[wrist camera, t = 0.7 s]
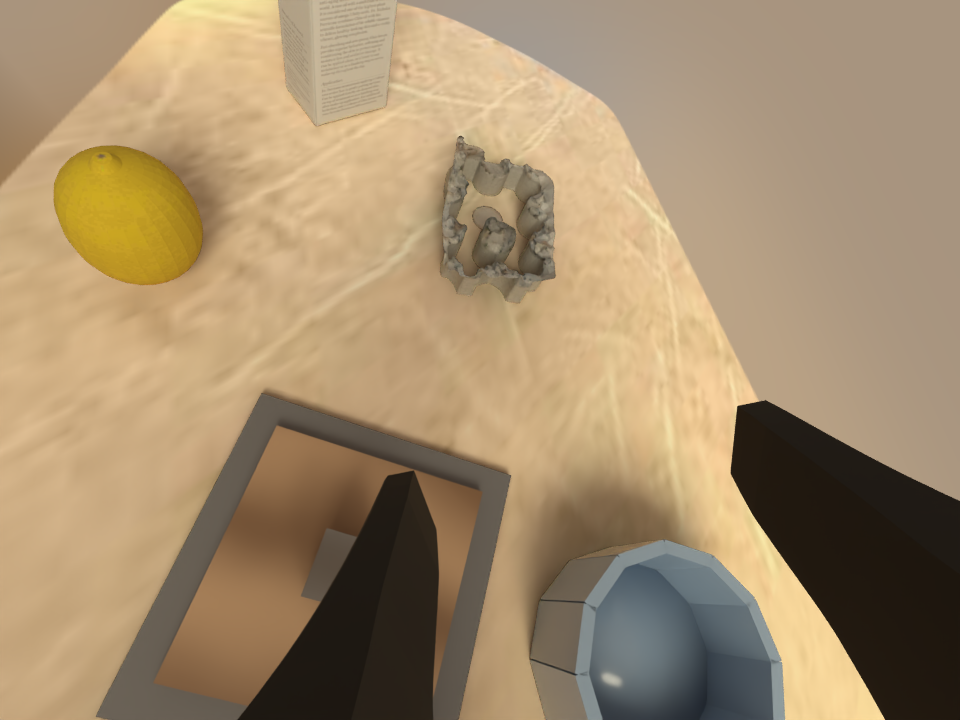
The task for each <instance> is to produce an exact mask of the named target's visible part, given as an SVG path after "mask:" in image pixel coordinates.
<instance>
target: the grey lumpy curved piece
mask: <svg viewBox="0 0 960 720" xmlns="http://www.w3.org/2000/svg"><path fill="white" fill-rule="evenodd" d="M463 139H464V137H462V136H459V137H458V139H457V143H456V146H457V147H456V152H455V159H454V163H453V167H452V168H450V169H449V171H448V173H447V176H446V179H445V185H444V199H446V201H445V206H444V210H443V217H442V226H443V248H444V257H443V260H442V262H441V267H440V273H441V276H442V277H444V278H447V279H448V280H449V281H451V282H452V284H453V285H454V287H455V289H456V292H457V294H460V295H467V296H471V295H472V294H473V291H474V289H475V288H476V287H477V286H478V285H481V284H491V285H493V286H495V287H497V288H498V289H499V290H500V291H501V292H502V294H503V296H504V298H505V301H507V302H514V303H520V302H521V300H522V299H523V297H524V296H525V294H526V293H527V292H531V291H535V290H536V289H537V288H538V286H539V285H540V283H541V281H543V280H548V279H553V278H555V265H554V261H553V251H554V247H553V242H554V237H555V230H554V213H553V204H554V185H553V181H552V180H551V178H550V177H549V176H547V175H546V174H545V173H544V172H543V171H540V170H535V169H532V168H531V167H530V166H528V165H527V164H526V165H524V166H518V165H514V164H512V163H511V162H510V160H509V159H504V160H502V161H501V163H500V164H494V163H490V162H485V161H484V160H485V158H484V151H483V150H482V149H480V148H479V147H476V146H472V145H467V144H465V143H464V141H463ZM467 180H469V181H472V183H473V185H474V187H475V189H476V190H477V191H478V192H479V193H481V194H483V195H486V196H496V195H498V194H499V193H500V192H501V190H502V188H506V189H510V190H513V191H514V192H515V194H516V196H517V197H518V198H519V199H520V200H521V201H522V202H524V203H526V205H525V206H524V208H523V210H522V212H521V214H520V216H519V218H518V220H517V223H516V225H517V228H518V231H519V232H520V233H521V235H523V236H524V237H525V238H527V239H529V242H528V243H527V245H526V247H525V249H524V250H523V252H522V254H521V256H520V257H519V260H518V265H519V268H520V270H521V271H522V272H523V273H524V275H523V276H522V275H521V274H518V271H515V270H509V269H508V268H507V266H506V265H505V264H504V262H505V260H506V258H507V257H508V255H509V253H510V251H511V250H512V248H513V246H514V243H515V239H516V231H515V229H514V228H512V227H511V226H509V225H507V224H505V223H503V222H502V221H503V220H502V217H501V215H500V213H498V212H497V211H496V210H495V209H493V208H491V207H486V206H483V207H479V208H477V209H476V210H475V211H474V212H473V215H472V217H473V220H474V223H475V224H476V225H477V226H478V227H479V228H480V229H482V231H481V233H480V235H479V238H478V240H477V242H476V245H475V247H474V249H473V252H472V257H473V260H474V262H475V264H476V265H477V266H478V267H480V269H478V271H477V273H476V275H474V276H472V277H471V276H466V275H465V274H464V272H463V265H462V264H461V263H460V262H458V261H457V259H456V258H455V257H456V255H457V253H458V250H459V248H460V246H461V243H462V241H463V238H464V235H465V232H466V230H467V226H466V225H465V224H464V225H461V224H459V223H458V221H457V220H456V218H457V216H458V213H459V210H460V208H461V206H462V203H463V200H464V196H465V195H466V194H467V192H466V188H467V186H468V185H469V183H468V181H467Z"/></svg>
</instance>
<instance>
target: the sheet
mask: <svg viewBox="0 0 960 720" xmlns="http://www.w3.org/2000/svg"><path fill="white" fill-rule="evenodd" d="M413 470H414V469H410V468H407V467H404V466H401V465H398V464H395V463H392V462H389V461H386V460H383V459H379V458H376V457H373V456H370V455H367V454H364V453H361V452H358V451H355V450H352V449H348V448H345V447H342V446H339V445H336V444H333V443H330V442H327V441H324V440H321V439H317V438H314V437H311V436H308V435H305V434H302V433H299V432H296V431H293V430H290V429H286V428H283V427H280V426H276V428H275V430H274V432H273V434H272V436H271V438H270V440H269V442H268V444H267V447H266V449H265V451H264V453H263V455H262V457H261V459H260V461H259V463H258V465H257V467H256V470H255V472H254V474H253V476H252V478H251V480H250V482H249V484H248V486H247V488H246V490H245V492H244V495H243V497H242V499H241V501H240V503H239V505H238V507H237V509H236V511H235V513H234V515H233V517H232V520H231V522H230V524H229V526H228V528H227V530H226V532H225V534H224V536H223V538H222V540H221V542H220V545H219V547H218V549H217V551H216V553H215V555H214V557H213V559H212V561H211V563H210V565H209V567H208V570H207V572H206V574H205V576H204V578H203V580H202V582H201V584H200V586H199V588H198V590H197V592H196V595H195V597H194V599H193V601H192V603H191V605H190V607H189V609H188V611H187V613H186V615H185V617H184V620H183V622H182V624H181V626H180V628H179V630H178V632H177V634H176V636H175V638H174V640H173V642H172V645H171V647H170V649H169V651H168V653H167V655H166V657H165V659H164V661H163V663H162V665H161V667H160V670H159V672H158V674H157V676H156V678H155V680H154V682H153V683H155V684H159V685H163V686H167V687H171V688H175V689H179V690H184V691H188V692H192V693H196V694H200V695H204V696H209V697H213V698H217V699H221V700H225V701H229V702H233V703H238V704H242V705H246V706H248V705H249V704H250V703H251V701H252V700H253V699H254V698H255V696H256V695H257V694H258V692H259V691H260V689H261V688H262V687H263V685H264V684H265V683H266V681H267V680H268V679H269V677H270V676H271V675H272V673H273V672H274V671H275V669H276V668H277V666H278V665H279V664H280V662H281V661H282V660H283V658H284V657H285V655H286V654H287V653H288V651H289V650H290V648H291V647H292V645H293V644H294V642H295V641H296V639H297V638H298V636H299V635H300V633H301V632H302V630H303V629H304V627H305V626H306V624H307V623H308V621H309V620H310V618H311V617H312V615H313V613H314V612H315V610H316V609H317V607H318V605H319V604H320V602H321V600H322V599H323V597H324V595H325V594H326V592H327V590H328V588H329V587H330V585H331V583H332V582H333V580H334V578H335V577H336V575H337V573H338V571H339V570H340V568H341V566H342V564H343V562H344V561H345V559H346V557H347V555H348V553H349V551H350V549H351V547H352V545H353V544H354V542H355V540H356V538H357V536H358V534H359V532H360V530H361V528H362V526H363V524H364V522H365V520H366V518H367V516H368V514H369V512H370V510H371V508H372V506H373V504H374V501H375V499H376V497H377V495H378V493H379V491H380V489H381V486H382V484H383V482H384V480H385V479H386V477H387V476H388V475H393V474H398V473H403V472H408V471H413ZM414 472H415V474H416V477H417V479H418V482H419V485H420V487H421V490H422V493H423V495H424V498H425V500H426V503H427V506H428V508H429V511H430V514H431V516H432V519H433V521H434V524H435V527H436V529H437V543H438V560H439V589H438V608H437V626H436V644H435V661H434V679H433V696H434V692H435V688H436V684H437V680H438V676H439V671H440V667H441V663H442V659H443V655H444V651H445V646H446V642H447V638H448V634H449V630H450V626H451V621H452V617H453V613H454V609H455V605H456V601H457V597H458V592H459V588H460V584H461V580H462V576H463V572H464V567H465V563H466V559H467V555H468V551H469V547H470V542H471V538H472V534H473V530H474V526H475V522H476V518H477V513H478V509H479V505H480V501H481V497H482V493H483V492H482V491H479V490H476V489H472V488H469V487H466V486H463V485H460V484H457V483H454V482H451V481H448V480H445V479H441V478H438V477H435V476H432V475H429V474H426V473H423V472H420V471H417V470H414Z"/></svg>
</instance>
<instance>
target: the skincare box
mask: <svg viewBox="0 0 960 720" xmlns="http://www.w3.org/2000/svg"><path fill="white" fill-rule="evenodd" d="M278 4H279V14H280V25H281V35H282V45H283V56H284V66H285V76H286V86H287V89H288V91H289V92H290V93H291V94H292V96H293V97H294V98H295V100H296V101H297V102H298V103H299V105H300V106H301V107H302V109H303V110H304V111H305V112H306V114H307V115H308V116H309V118H310V119H311V120H312V122H313V123H314V124H315V125H316V126H319V125H322V124H326V123H329V122H333V121H336V120H340V119H344V118H347V117H351V116H354V115H358V114H362V113H365V112H369V111H372V110H376V109H380V108H384V107H385V106H386V101H387V92H388V83H389V74H390V64H391V55H392V46H393V37H394V28H395V19H396V9H397V0H278Z"/></svg>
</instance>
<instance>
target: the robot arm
mask: <svg viewBox="0 0 960 720" xmlns="http://www.w3.org/2000/svg"><path fill="white" fill-rule="evenodd" d="M731 475H732V477H733V479H734V481H735V483H736V485H737V487H738V489H739V491H740V492H741V494H742V496H743V498H744V500H745V502H746V504H747V505H748V507H749V509H750V511H751V513H752V514H753V516H754V517H755V519H756V520H757V522H758V523H759V525H760V526H761V528H762V529H763V530H764V532H765V533H766V535H767V536H768V538H769V539H770V540H771V542H772V543H773V545H774V546H775V548H776V549H777V550H778V552H779V553H780V555H781V556H782V557H783V559H784V560H785V562H786V563H787V564H788V566H789V567H790V569H791V570H792V571H793V573H794V574H795V576H796V577H797V578H798V580H799V581H800V583H801V584H802V585H803V587H804V588H805V590H806V591H807V592H808V594H809V595H810V597H811V598H812V600H813V601H814V602H815V604H816V605H817V607H818V608H819V609H820V611H821V612H822V614H823V615H824V617H825V618H826V620H827V621H828V623H829V624H830V626H831V627H832V629H833V630H834V632H835V633H836V635H837V637H838V638H839V640H840V642H841V643H842V645H843V647H844V649H845V650H846V652H847V654H848V655H849V657H850V659H851V661H852V662H853V664H854V666H855V667H856V669H857V671H858V672H859V674H860V676H861V678H862V679H863V681H864V683H865V684H866V686H867V688H868V690H869V692H870V693H871V695H872V697H873V699H874V700H875V702H876V704H877V706H878V708H879V709H880V711H881V713H882V715H883V717H884V718H885V720H960V501H958V500H956V499H954V498H952V497H950V496H948V495H945V494H943V493H941V492H939V491H937V490H935V489H933V488H931V487H929V486H927V485H925V484H922V483H920V482H918V481H916V480H914V479H912V478H910V477H908V476H906V475H904V474H902V473H900V472H898V471H896V470H894V469H892V468H890V467H888V466H886V465H884V464H882V463H880V462H878V461H876V460H875V459H872V458H871V457H869V456H867V455H865V454H863V453H861V452H859V451H858V450H856V449H854V448H852V447H850V446H848V445H846V444H845V443H843V442H841V441H839V440H837V439H835V438H834V437H832V436H830V435H828V434H826V433H825V432H823V431H821V430H819V429H817V428H816V427H814V426H812V425H810V424H808V423H807V422H805V421H803V420H801V419H799V418H798V417H796V416H794V415H792V414H790V413H789V412H787V411H785V410H783V409H781V408H779V407H778V406H776V405H774V404H772V403H770V402H768V401H766V400H765V401H760V402H755V403H750V404H745V405H740V406H737V415H736V424H735V434H734V444H733V454H732V463H731ZM438 589H439V560H438V543H437V529H436V527H435V524H434V521H433V519H432V516H431V514H430V511H429V508H428V506H427V503H426V500H425V498H424V495H423V493H422V490H421V487H420V485H419V482H418V479H417V477H416V474H415V472H414V470H413V471H408V472H403V473H398V474H393V475H388V476H387V477H386V479H385V480H384V482H383V484H382V486H381V489H380V491H379V493H378V495H377V497H376V499H375V501H374V504H373V506H372V508H371V510H370V512H369V514H368V516H367V518H366V520H365V522H364V524H363V526H362V528H361V530H360V532H359V534H358V536H357V538H356V540H355V542H354V544H353V545H352V547H351V549H350V551H349V553H348V555H347V557H346V559H345V561H344V562H343V564H342V566H341V568H340V570H339V571H338V573H337V575H336V577H335V578H334V580H333V582H332V583H331V585H330V587H329V588H328V590H327V592H326V594H325V595H324V597H323V599H322V600H321V602H320V604H319V605H318V607H317V609H316V610H315V612H314V613H313V615H312V617H311V618H310V620H309V621H308V623H307V624H306V626H305V627H304V629H303V630H302V632H301V633H300V635H299V636H298V638H297V639H296V641H295V642H294V644H293V645H292V647H291V648H290V650H289V651H288V653H287V654H286V655H285V657H284V658H283V660H282V661H281V662H280V664H279V665H278V666H277V668H276V669H275V671H274V672H273V673H272V675H271V676H270V677H269V679H268V680H267V681H266V683H265V684H264V685H263V687H262V688H261V689H260V691H259V692H258V694H257V695H256V696H255V698H254V699H253V700H252V701H251V703H250V704H249V705H248V707H247V708H246V709H245V710H244V712H243V713H242V714H241V715H240V717H239V718H238V719H237V720H433V679H434V661H435V644H436V626H437V608H438Z"/></svg>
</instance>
